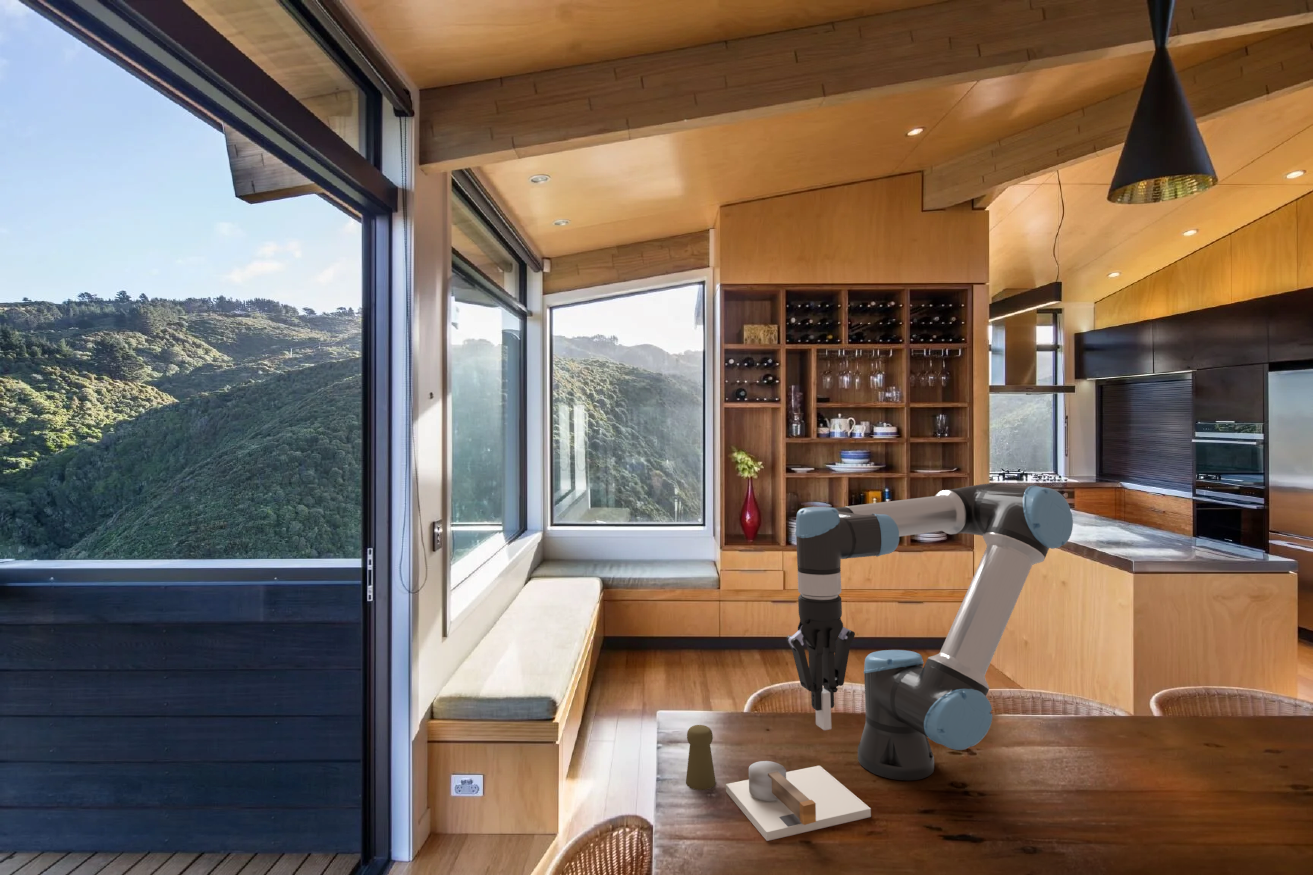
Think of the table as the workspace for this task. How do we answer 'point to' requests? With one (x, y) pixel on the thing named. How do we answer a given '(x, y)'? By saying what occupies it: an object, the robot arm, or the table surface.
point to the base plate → (815, 785)
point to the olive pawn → (700, 758)
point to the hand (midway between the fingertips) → (823, 726)
